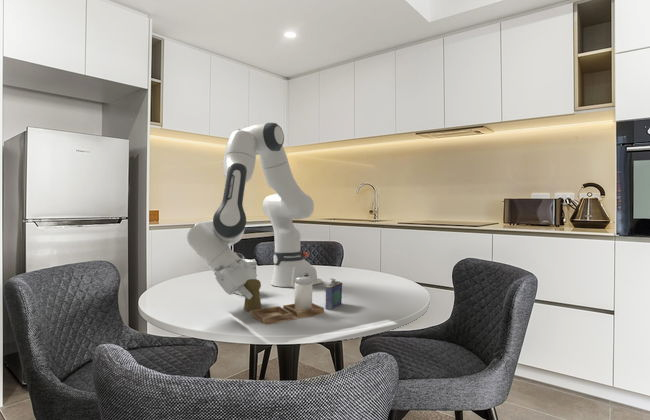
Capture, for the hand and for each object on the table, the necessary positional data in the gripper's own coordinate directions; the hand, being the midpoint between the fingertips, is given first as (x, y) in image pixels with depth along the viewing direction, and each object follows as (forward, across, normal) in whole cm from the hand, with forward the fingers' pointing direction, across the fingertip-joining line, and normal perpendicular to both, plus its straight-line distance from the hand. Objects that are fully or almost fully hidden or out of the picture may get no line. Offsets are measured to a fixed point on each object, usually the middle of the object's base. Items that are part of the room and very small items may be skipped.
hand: (254, 295), depth 129 cm
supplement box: (-5, +26, +14) cm, 30 cm away
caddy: (+13, -4, -4) cm, 14 cm away
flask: (+22, +8, -13) cm, 27 cm away
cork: (+4, 0, +5) cm, 6 cm away
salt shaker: (+14, 0, -8) cm, 17 cm away
